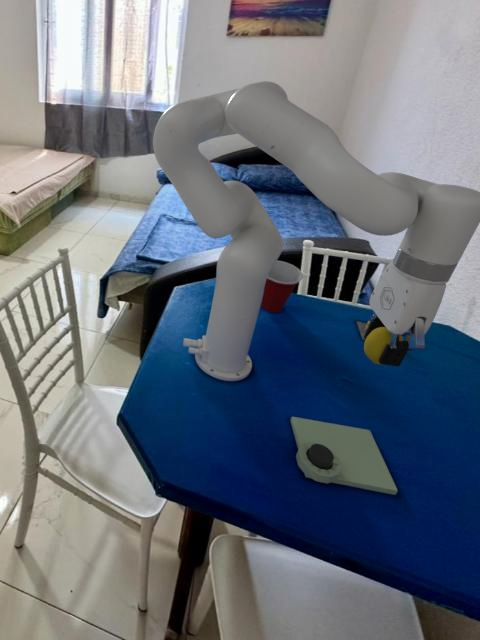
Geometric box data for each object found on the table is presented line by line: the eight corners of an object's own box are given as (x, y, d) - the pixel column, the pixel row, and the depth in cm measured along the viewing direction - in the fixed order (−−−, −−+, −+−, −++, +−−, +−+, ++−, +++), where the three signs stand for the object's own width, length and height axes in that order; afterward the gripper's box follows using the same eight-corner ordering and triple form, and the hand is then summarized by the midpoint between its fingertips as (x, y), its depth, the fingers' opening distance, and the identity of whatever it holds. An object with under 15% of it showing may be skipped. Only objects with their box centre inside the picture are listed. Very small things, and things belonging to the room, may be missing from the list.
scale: (299, 482, 68) (304, 471, 67) (283, 419, 80) (287, 408, 78) (398, 502, 66) (406, 491, 64) (367, 434, 77) (373, 423, 76)
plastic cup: (254, 315, 110) (264, 278, 104) (247, 294, 119) (256, 258, 113) (296, 320, 108) (309, 282, 102) (286, 298, 118) (297, 262, 112)
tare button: (310, 467, 68) (313, 460, 67) (305, 448, 71) (308, 441, 70) (333, 471, 67) (336, 464, 67) (327, 452, 71) (330, 445, 70)
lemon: (398, 376, 71) (417, 340, 67) (365, 371, 72) (381, 336, 68) (384, 355, 76) (401, 320, 72) (353, 350, 76) (368, 316, 73)
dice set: (391, 342, 101) (394, 336, 100) (368, 337, 103) (371, 331, 102) (386, 330, 106) (389, 324, 105) (364, 326, 107) (367, 320, 106)
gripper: (374, 238, 72) (340, 320, 80) (426, 290, 57) (378, 384, 65) (420, 242, 71) (381, 325, 79) (485, 297, 56) (429, 391, 64)
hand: (380, 351), depth 72 cm, fingers closed on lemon, 5 cm apart
